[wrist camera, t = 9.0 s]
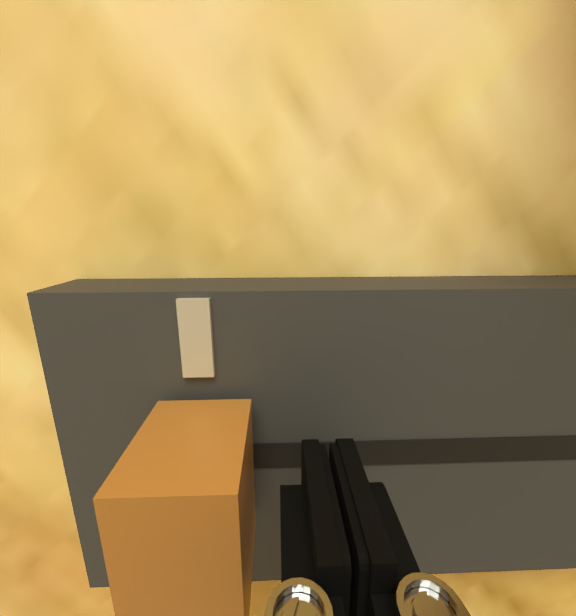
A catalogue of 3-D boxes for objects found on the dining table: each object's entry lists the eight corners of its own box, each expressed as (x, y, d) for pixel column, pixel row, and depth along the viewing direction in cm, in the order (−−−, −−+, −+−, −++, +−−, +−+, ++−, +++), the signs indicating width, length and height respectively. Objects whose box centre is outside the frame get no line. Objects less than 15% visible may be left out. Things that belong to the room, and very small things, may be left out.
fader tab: (251, 398, 10) (237, 494, 7) (255, 521, 12) (246, 657, 8) (158, 400, 10) (92, 499, 7) (172, 523, 12) (124, 663, 8)
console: (729, 274, 13) (844, 287, 10) (646, 511, 16) (717, 567, 13) (77, 279, 12) (21, 294, 9) (119, 529, 15) (87, 593, 13)
